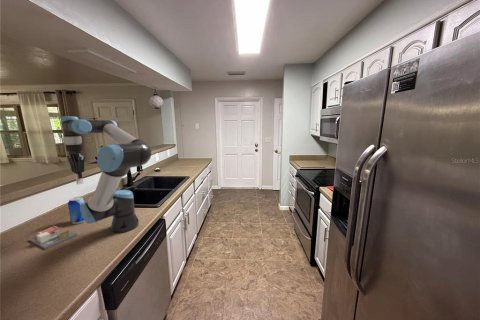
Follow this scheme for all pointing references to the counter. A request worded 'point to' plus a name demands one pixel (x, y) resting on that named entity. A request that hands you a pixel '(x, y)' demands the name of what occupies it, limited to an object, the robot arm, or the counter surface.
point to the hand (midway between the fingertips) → (80, 183)
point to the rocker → (49, 230)
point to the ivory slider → (43, 237)
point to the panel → (52, 239)
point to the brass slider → (62, 233)
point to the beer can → (76, 210)
